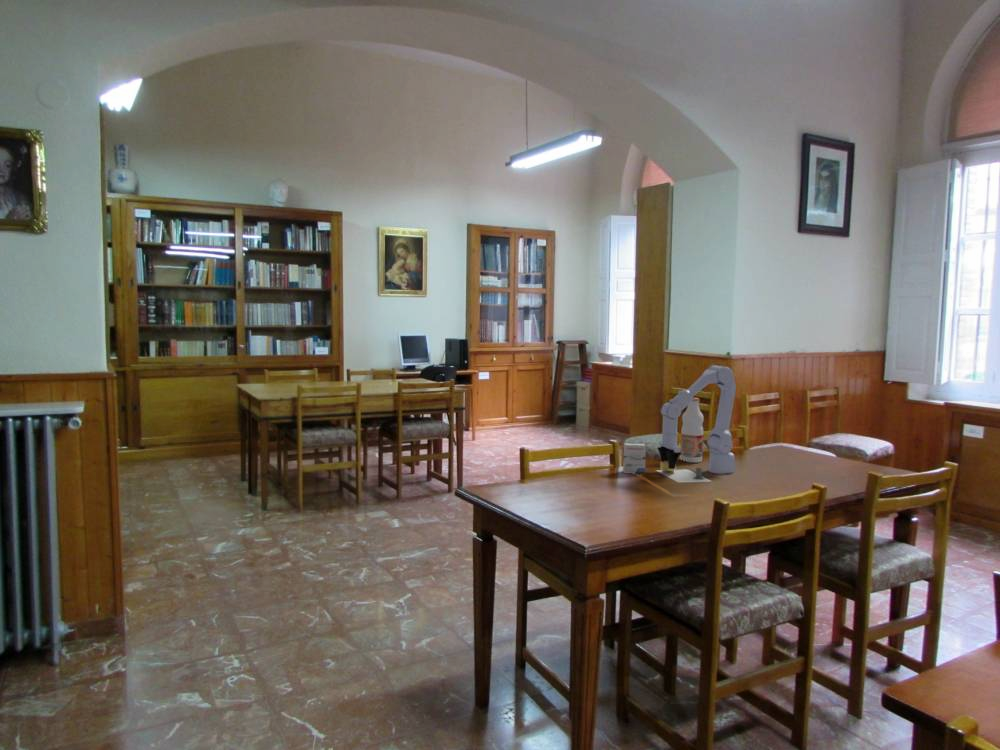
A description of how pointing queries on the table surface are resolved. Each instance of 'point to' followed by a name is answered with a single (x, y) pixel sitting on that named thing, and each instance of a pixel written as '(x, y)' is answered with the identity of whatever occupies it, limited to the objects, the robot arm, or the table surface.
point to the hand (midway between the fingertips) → (668, 466)
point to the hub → (667, 472)
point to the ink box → (634, 458)
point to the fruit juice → (692, 433)
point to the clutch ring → (665, 466)
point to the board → (686, 476)
